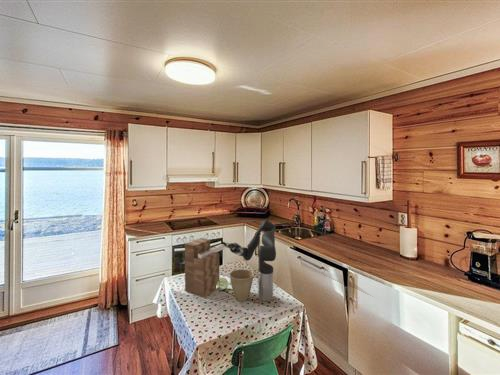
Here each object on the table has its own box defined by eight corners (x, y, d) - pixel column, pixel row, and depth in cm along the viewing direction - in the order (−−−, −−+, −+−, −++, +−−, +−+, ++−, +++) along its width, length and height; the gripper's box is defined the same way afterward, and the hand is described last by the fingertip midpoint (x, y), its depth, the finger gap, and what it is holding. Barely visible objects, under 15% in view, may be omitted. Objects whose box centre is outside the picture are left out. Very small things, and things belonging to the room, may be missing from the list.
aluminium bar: (220, 248, 178) (220, 243, 177) (224, 248, 176) (224, 244, 176) (197, 258, 157) (197, 253, 157) (201, 259, 155) (201, 254, 155)
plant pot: (255, 294, 160) (256, 270, 159) (249, 306, 146) (249, 280, 144) (234, 291, 164) (234, 267, 163) (226, 302, 150) (226, 277, 148)
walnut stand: (201, 281, 177) (201, 237, 174) (219, 287, 169) (219, 241, 166) (185, 291, 163) (184, 243, 161) (203, 297, 155) (203, 248, 153)
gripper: (230, 242, 198) (220, 237, 185) (245, 245, 191) (235, 240, 178) (227, 252, 195) (216, 246, 182) (243, 255, 188) (232, 250, 175)
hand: (226, 243), depth 180 cm, fingers open, 8 cm apart
